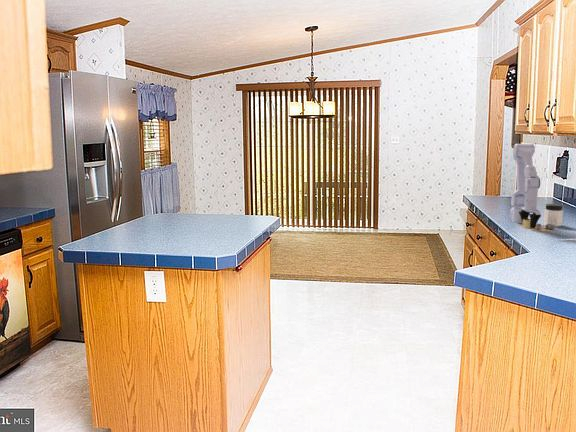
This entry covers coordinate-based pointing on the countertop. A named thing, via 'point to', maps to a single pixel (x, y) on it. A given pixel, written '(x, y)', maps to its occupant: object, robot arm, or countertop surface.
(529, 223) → the brass gear
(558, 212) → the jar
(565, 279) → the countertop surface
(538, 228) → the gear board
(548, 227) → the gear
